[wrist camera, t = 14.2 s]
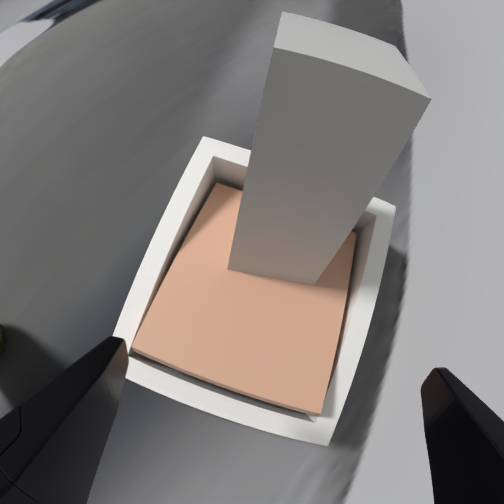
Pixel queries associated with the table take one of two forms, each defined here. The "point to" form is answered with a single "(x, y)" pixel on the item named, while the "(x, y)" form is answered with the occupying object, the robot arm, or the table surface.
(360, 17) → the table surface
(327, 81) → the stone pillar
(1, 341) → the cup
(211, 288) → the trapdoor
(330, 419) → the trapdoor frame
